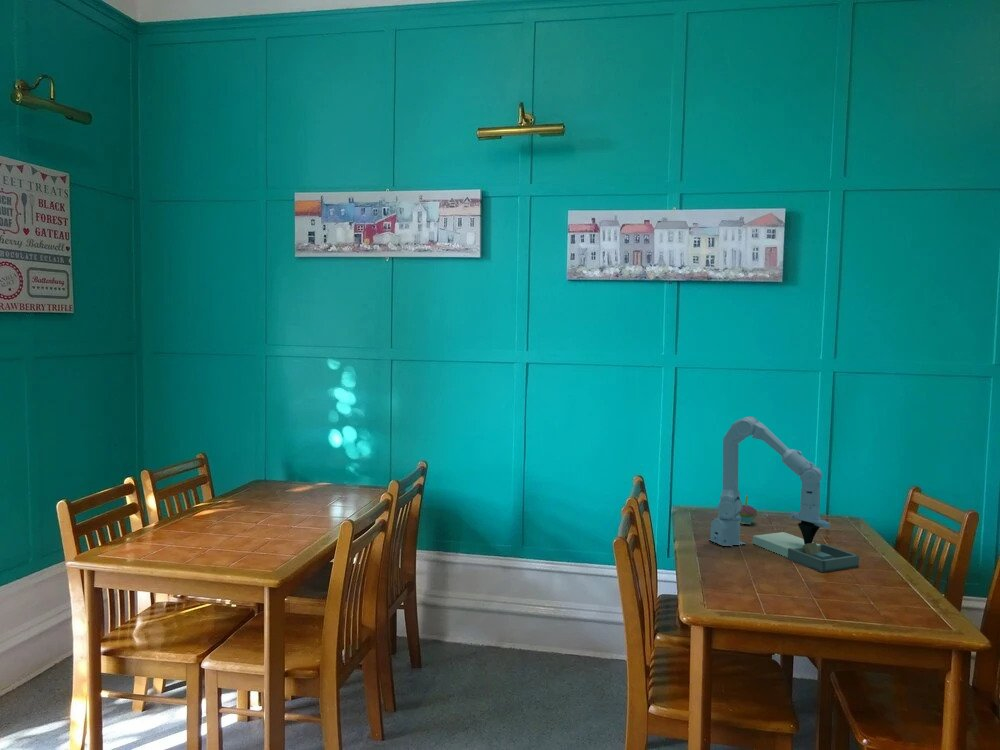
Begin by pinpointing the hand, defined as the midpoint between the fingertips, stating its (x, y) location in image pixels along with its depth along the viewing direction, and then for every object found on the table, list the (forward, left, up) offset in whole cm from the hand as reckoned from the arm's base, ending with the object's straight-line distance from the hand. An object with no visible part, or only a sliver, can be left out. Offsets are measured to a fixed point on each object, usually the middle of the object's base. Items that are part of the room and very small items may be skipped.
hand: (808, 545), depth 230 cm
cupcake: (+10, +39, -4) cm, 40 cm away
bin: (0, -6, -4) cm, 7 cm away
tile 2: (0, -5, -1) cm, 6 cm away
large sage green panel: (0, +9, -4) cm, 10 cm away
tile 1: (0, -1, -2) cm, 2 cm away
